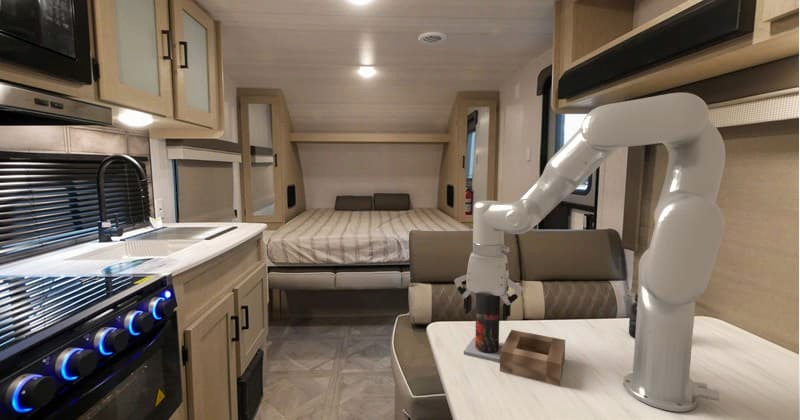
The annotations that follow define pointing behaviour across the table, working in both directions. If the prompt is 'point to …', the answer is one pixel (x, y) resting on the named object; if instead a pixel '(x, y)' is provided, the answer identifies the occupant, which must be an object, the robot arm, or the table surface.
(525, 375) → the socket block
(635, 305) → the supplement bottle
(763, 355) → the table surface
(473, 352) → the rubber mat
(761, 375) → the table surface
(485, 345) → the deodorant
